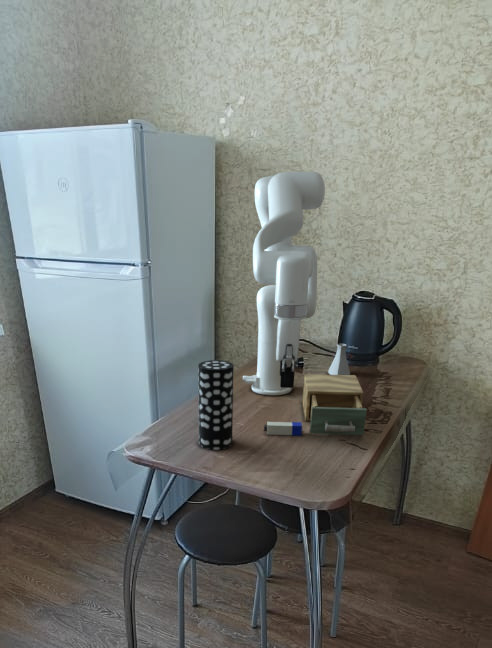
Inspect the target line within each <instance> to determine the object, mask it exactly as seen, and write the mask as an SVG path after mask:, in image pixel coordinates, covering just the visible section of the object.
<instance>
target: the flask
mask: <svg viewBox="0 0 492 648" xmlns="http://www.w3.org/2000/svg"><path fill="white" fill-rule="evenodd" d="M336 347H337V348H336V353H335V356H334V358H333V361H332V362H331V364H330V367H329V368H328V370H327V373H328V375H351V371H350V367H349V364H348V360H347V353H346V352H347V351H346V350H347V349H346V348H347V347H348V345H347V344H345V343H337V344H336Z"/></svg>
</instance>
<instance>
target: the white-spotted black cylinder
mask: <svg viewBox="0 0 492 648" xmlns="http://www.w3.org/2000/svg"><path fill="white" fill-rule="evenodd" d="M197 373H198V374H197V377H198V378H197V380H198V381H197V383H198V387H197V388H198V391H197V393H198V445H199V446H200V447H202V448H203V449H207V450H213V451H214V450H216V451H217V450H219V451H220V450H225V449H227V448H230V447H231V446H232V445H233V421H234V420H233V418H234V417H233V416H234V363H232V362H230V361H228V360H220V359H212V360H211V359H210V360H204V361H201V362H199V363H198V364H197Z"/></svg>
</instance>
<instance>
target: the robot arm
mask: <svg viewBox="0 0 492 648" xmlns="http://www.w3.org/2000/svg"><path fill="white" fill-rule="evenodd" d="M254 185H255V186H254V204H255V209H256V213H257V216H258V219H259V222H260V226H261V228H260V230H259V231H258V233H257V234H256V235H255V239H254V242H253V245H252V272H253V277H254V279H255V281H256V282H257V283H258V284H262V285H265V286H263V287H261V288H259V290H258V291H257V293H256V309H257V311H256V312H257V323H258V326H257V327H258V331H257V332H258V333H257V334H258V335H257V359H256V361H257V363H256V372H255V374H252V375H242V383H245V384H251V390H252V392H254V393H256V394H259V395H264V396H283V395H288V394H289V393H291V392H292V390H293V388H294V387H295V372H296V371H295V362H297V361H298V354H299V348H300V347H299V346H300V337H301V336H300V335H301V325H302V321H303V320H306V319H311V317H313V316H314V315H315V313H316V310H317V297H318V296H317V292H318V256H317V252H316V250H315V249H314V248H313V247H312V246H310V245H294V244H293V237H294V236H296V235H297V234H298V233H300V232H301V230H302V228H303V226H304V212H303V211H304V210H307V211H309V210H316V209H319V208H320V207H321V206H322V204H323V203H324V199H325V195H326V184H325V180H324V178H323V176H322V174H321V173H320V172H317V171H282V172H279V173H276V174H275V175H268V176H264V177H261V178H259V179H258V180H257V181H256V183H255V184H254Z"/></svg>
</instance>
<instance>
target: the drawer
mask: <svg viewBox="0 0 492 648" xmlns="http://www.w3.org/2000/svg"><path fill="white" fill-rule="evenodd" d="M367 412H368V410H367V408H365V407H363V404H362V405H361V403H360V400H359V398H358V396H357V395H336V394H311V403H310V417H311V421H310V425H309V426H310V427H309V433H310V434H315V435H316V434H319V435H345V436H346V435H347V436H348V435H349V436H364V435H365V427H366V420H367V419H366V418H367Z"/></svg>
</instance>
